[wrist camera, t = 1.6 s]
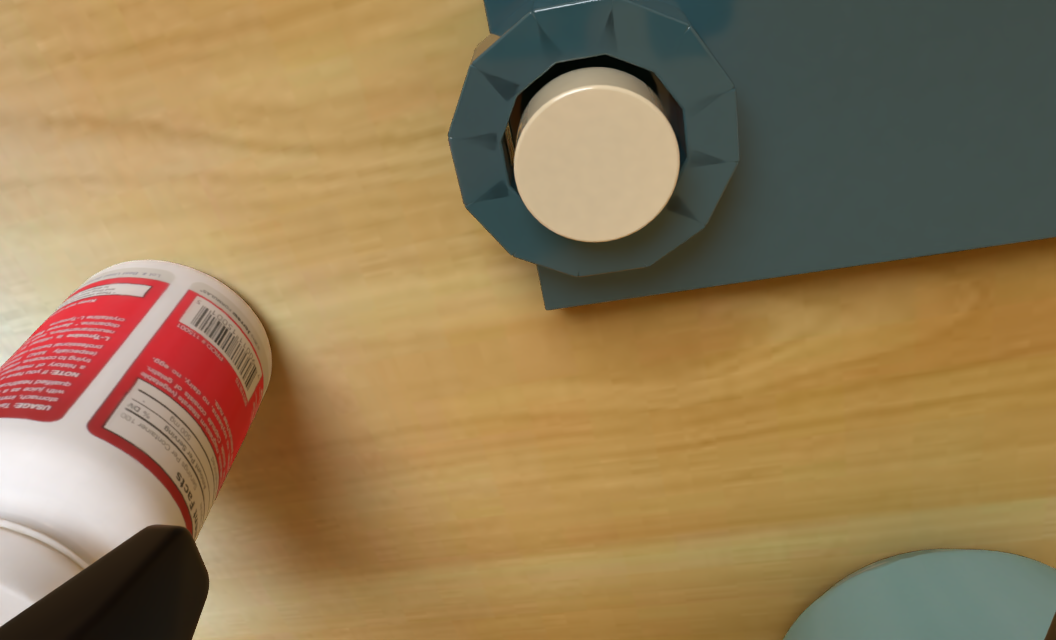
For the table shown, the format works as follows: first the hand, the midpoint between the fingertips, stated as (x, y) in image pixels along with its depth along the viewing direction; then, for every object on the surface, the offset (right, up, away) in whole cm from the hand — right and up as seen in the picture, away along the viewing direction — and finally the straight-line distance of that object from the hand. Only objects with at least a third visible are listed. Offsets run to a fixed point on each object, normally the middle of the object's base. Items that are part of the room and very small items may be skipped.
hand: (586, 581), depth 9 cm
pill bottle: (-11, +2, +17) cm, 21 cm away
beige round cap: (+1, +7, +11) cm, 13 cm away
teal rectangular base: (+7, +9, +12) cm, 17 cm away
